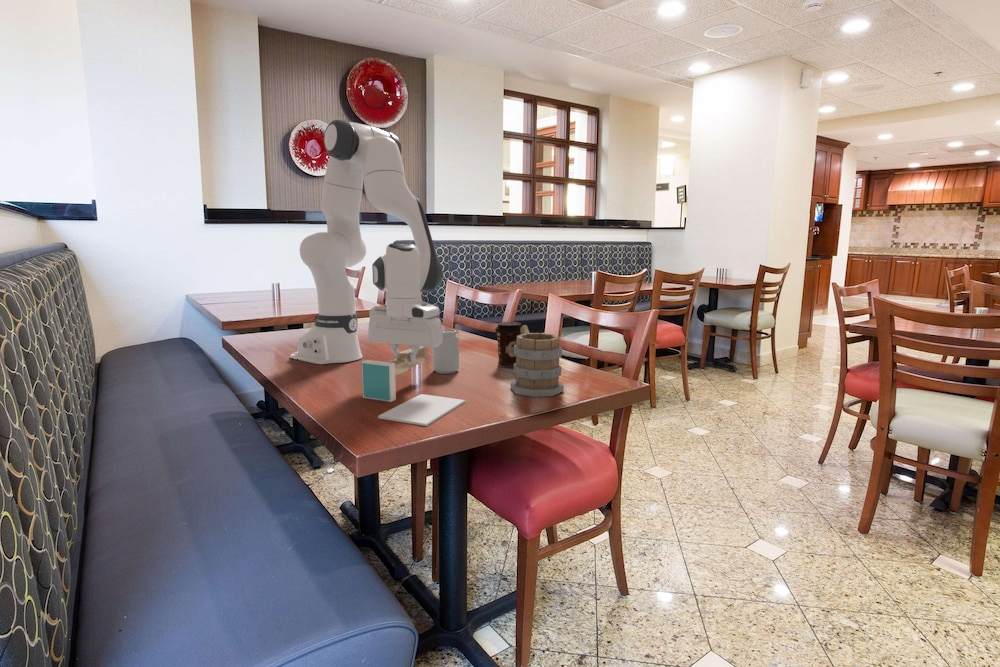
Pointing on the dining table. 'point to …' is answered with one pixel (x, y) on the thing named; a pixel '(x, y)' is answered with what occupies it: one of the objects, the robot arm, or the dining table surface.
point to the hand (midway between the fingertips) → (405, 361)
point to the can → (447, 353)
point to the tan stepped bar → (403, 364)
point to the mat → (422, 409)
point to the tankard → (537, 364)
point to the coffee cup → (507, 342)
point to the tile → (379, 380)
